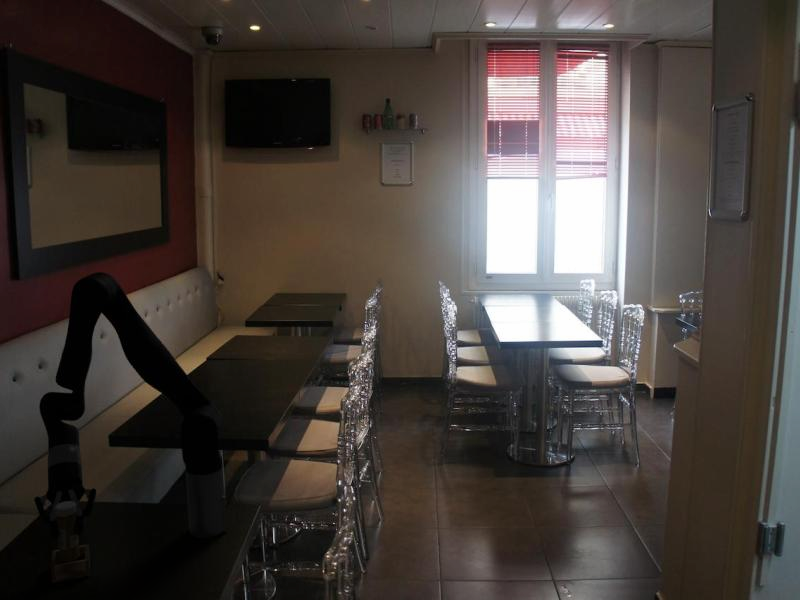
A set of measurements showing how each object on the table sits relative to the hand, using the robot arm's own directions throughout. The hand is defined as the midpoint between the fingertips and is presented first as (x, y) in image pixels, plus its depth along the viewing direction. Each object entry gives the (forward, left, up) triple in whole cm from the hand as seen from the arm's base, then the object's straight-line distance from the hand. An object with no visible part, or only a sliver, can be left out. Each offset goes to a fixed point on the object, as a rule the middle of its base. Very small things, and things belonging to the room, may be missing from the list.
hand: (67, 535), depth 173 cm
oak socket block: (0, -2, -10) cm, 10 cm away
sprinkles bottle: (0, -2, -7) cm, 7 cm away
